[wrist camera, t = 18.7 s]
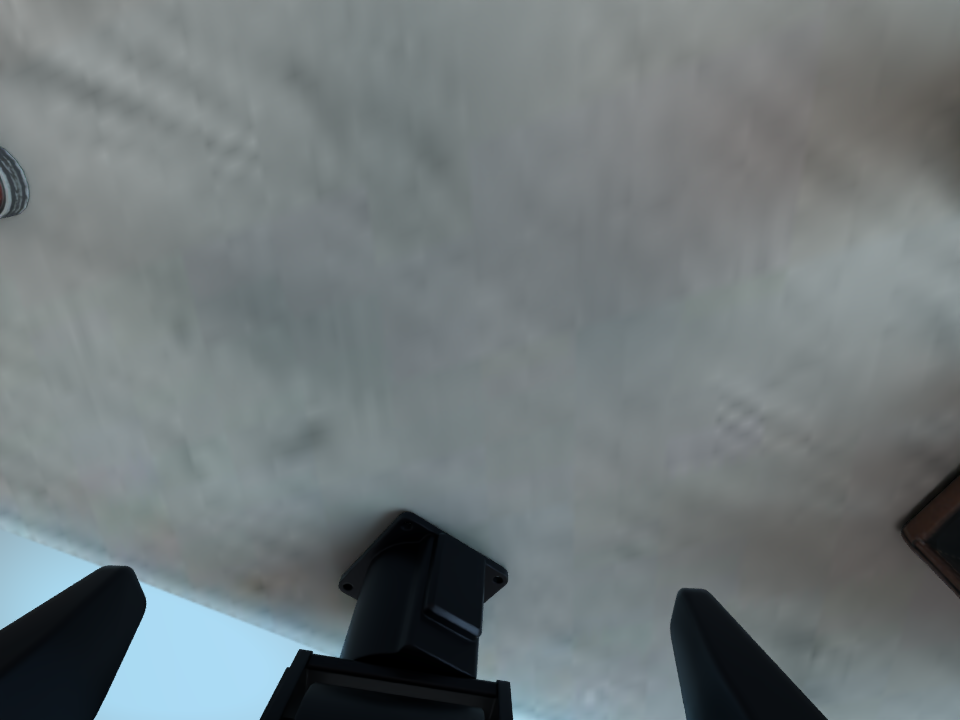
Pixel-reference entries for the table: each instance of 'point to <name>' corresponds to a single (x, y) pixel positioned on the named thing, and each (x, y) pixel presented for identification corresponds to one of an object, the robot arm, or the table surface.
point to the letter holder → (939, 535)
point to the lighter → (11, 186)
